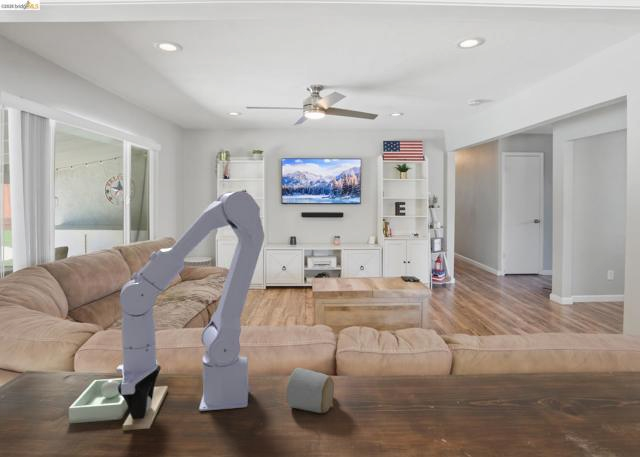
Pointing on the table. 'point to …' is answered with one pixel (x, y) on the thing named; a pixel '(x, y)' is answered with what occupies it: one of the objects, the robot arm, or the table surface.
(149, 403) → the pebble
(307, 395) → the grey cylinder tan end
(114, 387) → the white ball
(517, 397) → the table surface
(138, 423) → the oak board
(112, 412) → the tub
